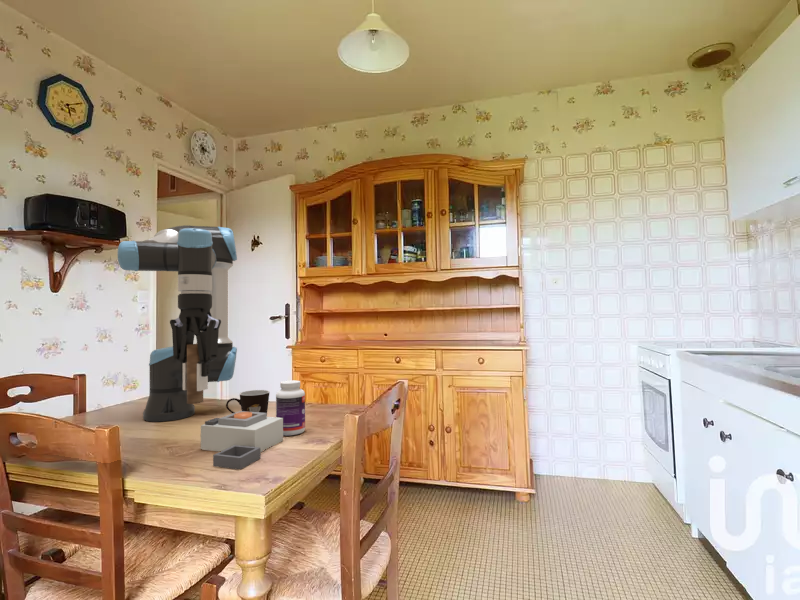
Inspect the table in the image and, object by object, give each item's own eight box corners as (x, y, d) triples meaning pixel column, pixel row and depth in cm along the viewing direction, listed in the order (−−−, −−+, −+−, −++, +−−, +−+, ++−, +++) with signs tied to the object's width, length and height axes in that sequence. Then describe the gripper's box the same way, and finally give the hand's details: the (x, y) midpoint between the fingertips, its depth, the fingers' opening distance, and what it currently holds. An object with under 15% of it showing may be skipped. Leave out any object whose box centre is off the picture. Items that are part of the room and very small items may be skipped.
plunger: (230, 427, 107) (230, 415, 107) (241, 422, 111) (241, 411, 111) (244, 428, 106) (244, 416, 106) (255, 423, 110) (255, 412, 110)
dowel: (183, 403, 100) (183, 344, 100) (194, 400, 103) (194, 343, 104) (195, 404, 99) (195, 345, 99) (206, 401, 102) (206, 343, 102)
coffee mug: (274, 422, 130) (274, 390, 130) (262, 430, 122) (262, 395, 122) (238, 421, 131) (238, 389, 132) (224, 429, 123) (224, 395, 123)
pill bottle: (308, 434, 117) (308, 382, 117) (279, 438, 113) (278, 385, 114) (301, 427, 124) (301, 378, 125) (273, 430, 121) (273, 380, 121)
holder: (213, 466, 93) (213, 455, 93) (234, 455, 100) (234, 445, 100) (240, 469, 91) (240, 458, 91) (260, 458, 98) (260, 447, 98)
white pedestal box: (200, 449, 105) (200, 419, 105) (233, 435, 116) (233, 408, 117) (254, 455, 100) (254, 423, 100) (283, 440, 112) (282, 412, 112)
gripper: (155, 293, 100) (155, 390, 100) (212, 292, 95) (212, 394, 95) (180, 293, 108) (180, 385, 107) (234, 292, 103) (234, 388, 102)
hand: (195, 389), depth 101 cm, fingers closed on dowel, 3 cm apart
